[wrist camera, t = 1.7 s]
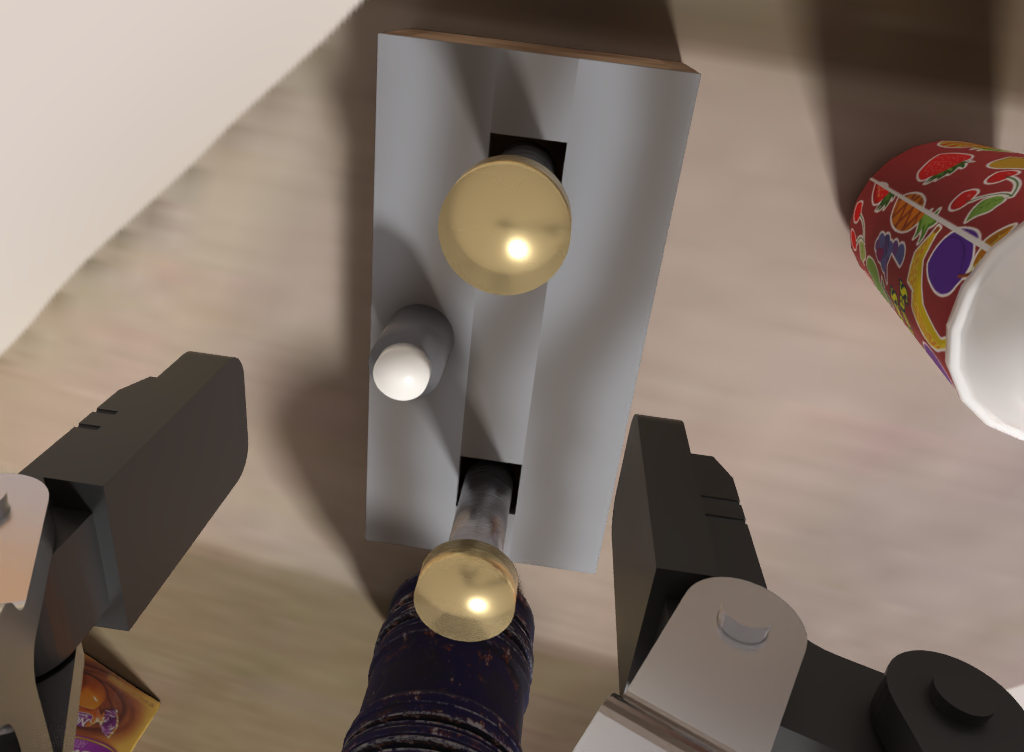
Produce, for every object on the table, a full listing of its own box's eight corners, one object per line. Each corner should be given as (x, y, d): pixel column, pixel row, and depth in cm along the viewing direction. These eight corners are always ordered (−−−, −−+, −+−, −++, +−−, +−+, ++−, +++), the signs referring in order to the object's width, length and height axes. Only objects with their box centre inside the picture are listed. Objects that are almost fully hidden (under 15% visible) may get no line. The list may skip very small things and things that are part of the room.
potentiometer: (456, 309, 32) (440, 347, 29) (451, 370, 33) (435, 414, 30) (388, 299, 32) (363, 336, 29) (386, 361, 34) (362, 403, 30)
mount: (682, 62, 32) (701, 74, 27) (594, 503, 43) (595, 573, 38) (412, 28, 33) (378, 33, 27) (392, 474, 44) (365, 539, 38)
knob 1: (582, 126, 29) (580, 173, 21) (567, 224, 31) (561, 303, 23) (482, 113, 30) (442, 155, 21) (473, 212, 31) (433, 286, 23)
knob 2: (535, 444, 36) (520, 572, 28) (525, 509, 38) (509, 648, 30) (454, 432, 36) (416, 557, 28) (448, 498, 38) (411, 633, 30)
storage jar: (496, 696, 51) (464, 937, 38) (365, 641, 50) (286, 871, 37) (563, 602, 47) (554, 839, 34) (422, 540, 46) (355, 760, 32)
